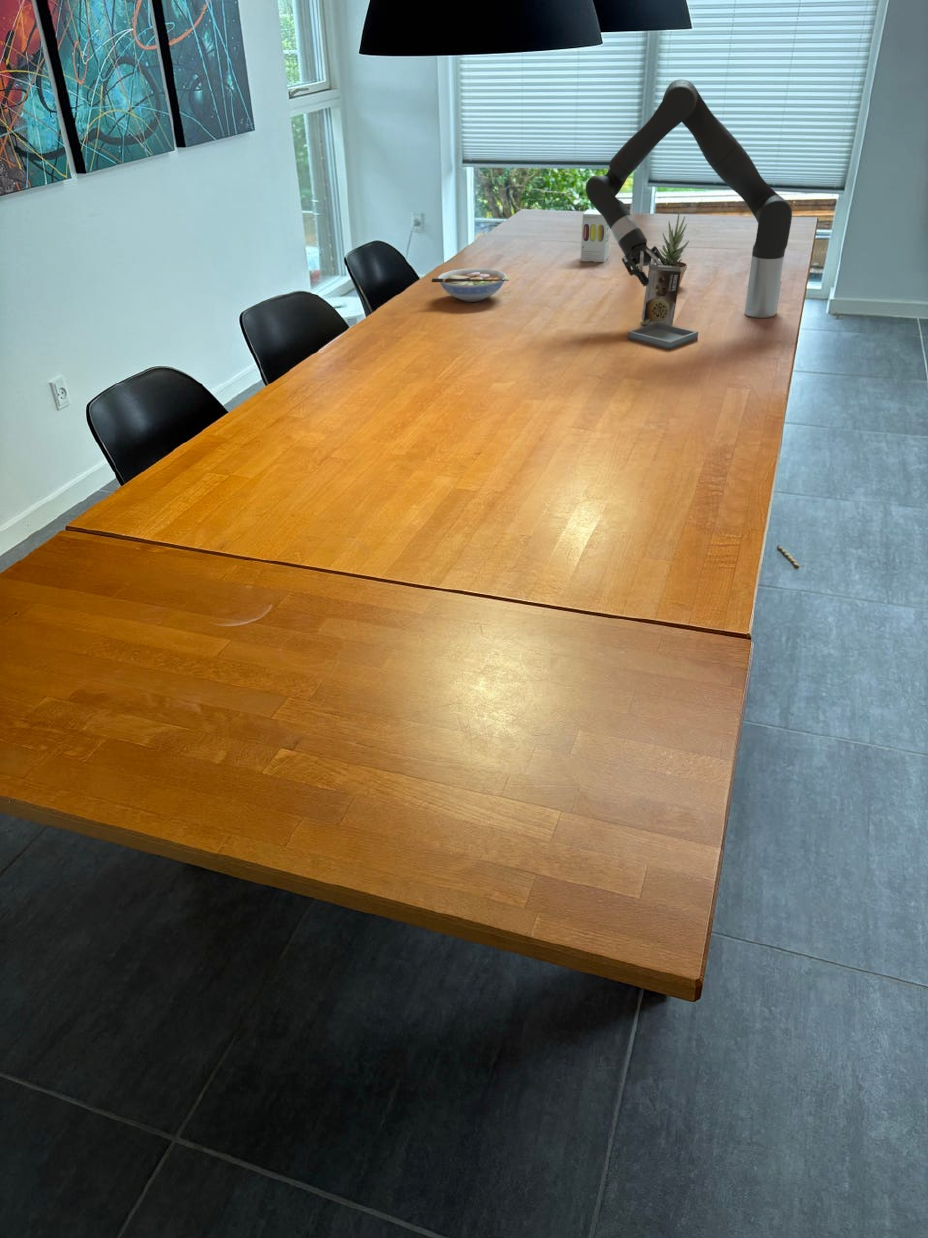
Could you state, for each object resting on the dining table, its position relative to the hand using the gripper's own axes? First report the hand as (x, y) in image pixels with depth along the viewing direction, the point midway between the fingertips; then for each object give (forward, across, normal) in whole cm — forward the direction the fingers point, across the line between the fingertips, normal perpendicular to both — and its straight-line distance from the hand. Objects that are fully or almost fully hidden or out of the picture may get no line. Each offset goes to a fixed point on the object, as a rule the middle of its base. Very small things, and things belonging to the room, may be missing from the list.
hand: (656, 281), depth 278 cm
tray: (+17, -11, 0) cm, 20 cm away
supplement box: (-40, +51, +58) cm, 87 cm away
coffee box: (+9, 0, +8) cm, 12 cm away
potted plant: (-7, +38, +25) cm, 46 cm away
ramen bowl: (-35, -18, +52) cm, 65 cm away
